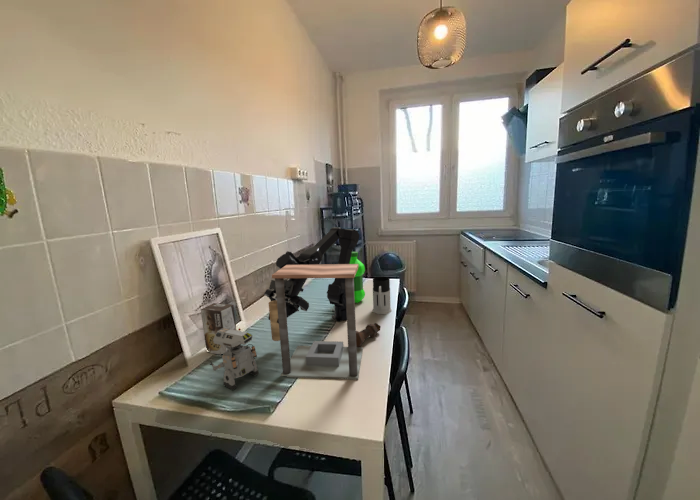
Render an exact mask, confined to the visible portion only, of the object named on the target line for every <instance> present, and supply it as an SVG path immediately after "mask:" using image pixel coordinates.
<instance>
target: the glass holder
mask: <svg viewBox="0 0 700 500" xmlns="http://www.w3.org/2000/svg"><path fill="white" fill-rule="evenodd" d="M390 281H391V280H390V278H389V277H388V276H377V277H376V276H375V277H373V278H372V305H373V307H372V312H373V313H374V314H377V315H386V314H387V315H388V314H390V313H391V312H392V311H393V310H392V309H391V308H392V307H391V287H390V285H391V282H390Z"/></svg>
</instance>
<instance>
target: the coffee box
mask: <svg viewBox="0 0 700 500" xmlns="http://www.w3.org/2000/svg"><path fill="white" fill-rule="evenodd" d="M235 316H236V315H235V308H234V304H231V303H228V304H227V303H216V302H215V303H214V302H213V303H211V304H208V305H206V306H205V307H203V308H201V309H200V317H201V323H202V329H203V336H204V343H205V348H207V350H208V351H210V352H211V353H210V354H216V355H221V354H223V353H224V352H226V351H227V350H228V348H227V347H228V346H223V345H219V344H215V343H214V341H213V339H214V337H215V335H216V333H217V331H218V330H220V329H222V328H227V329H232V330H237V323H236V317H235Z"/></svg>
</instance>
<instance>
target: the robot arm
mask: <svg viewBox="0 0 700 500" xmlns="http://www.w3.org/2000/svg"><path fill="white" fill-rule="evenodd" d="M359 238H360V233H359V231H358V230H357V229H349V228H348V229H345V228H341V227H335V226H334V227H331V228H330V229H329V231H328V232H326V234H325V235H324V236H323V237H322V238H321V239H320V240H319V241H317V243H316V244H314V245H313V246H311V247H310V248H308V249H305V250H304V251H302V252H300V254H299V255H298V256H295V255H294V253H293V252H292V251H290V250H289V251H288V250H287V251H286V252H285V253H283V254H282V255H280V256H279V257H278V258H277V259H276V262H275V266H276V267H277V268H278V269H279V270H280V269H281V268H283V267H284V266H286V265H315V264H321V262H322V261H323V256H324V255H325V254H326V253H327V252H328V251H329V249H330V248H331V247H332V246H333V245H334V244H335V243H336V242H337V241H338V243H339V247H340V252H339V257H338V261H337V264H350V259H351V254H352V252H353V250H355V248H356V247H357V245H358V242H359V240H360V239H359ZM307 280H308V278H288V279H284V290H285V302H286V314H287V319H288V318H289V317H291V316H292V315H293V314H295V313H296V312H300V310H301V311H304V312H308V310H309V308H310V303H309V302H308V301H307V300H306V299H304V298H303V297H301V296H299V294H300V292H301V293H303V292H304V288H303V287H304V285H305V283H306V281H307ZM263 295H265V296H266V297H267V298H268V299H269V301H274V300H277V298H276V286H275V279H271V280H270V284H269V287H268V289H266V290H265V291H264V293H263ZM326 297H327V300H328V301H329V302H328V303H330V305H334V306H333V307H334V308H333V309H334V314H333V315H331V317H332V318H333V319H334V320H335V321H336V322H342V321H347V311H346V288H345V278H334V281H333V282H332V283H331V284H330V283H329V284H328V286H327V291H326ZM299 309H300V310H299ZM267 320H269V321H270V313H269V314H268V317H267ZM277 323H278V324H279V321H278V320H277Z"/></svg>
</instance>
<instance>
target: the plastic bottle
mask: <svg viewBox="0 0 700 500" xmlns="http://www.w3.org/2000/svg"><path fill="white" fill-rule="evenodd" d="M358 257H359V252H358V251H352V254H351V259H350V264H358V265H359V267H358V270H357V272H356V275H355V277H354V296H355V304H358V303H361V301H362V300H364V299H365V297H366V292H365V290H364V282H363V277H364V276H363V275H364V274H365V271H366V267H365V264H364V263H362V261H361V260H359V259H358Z"/></svg>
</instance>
